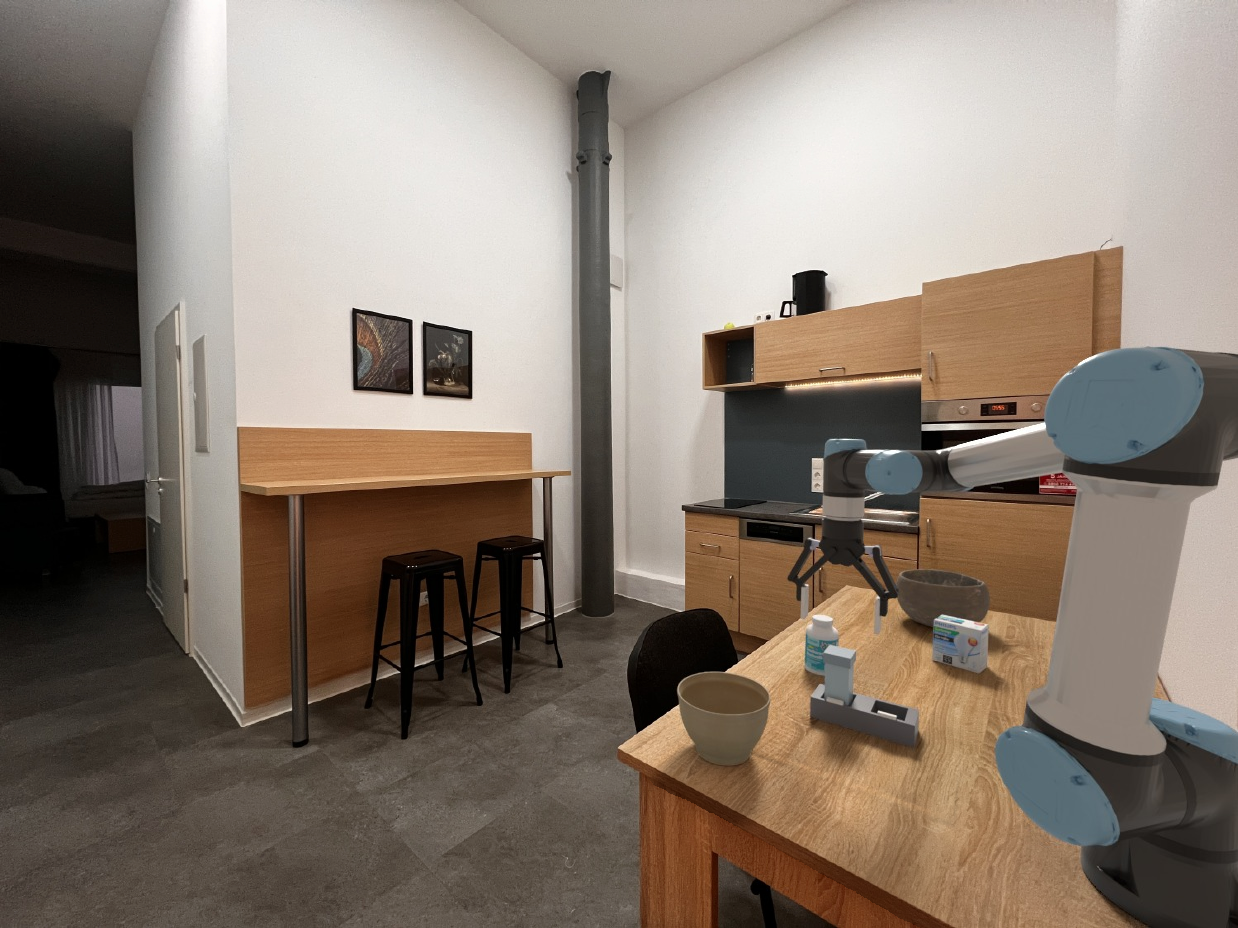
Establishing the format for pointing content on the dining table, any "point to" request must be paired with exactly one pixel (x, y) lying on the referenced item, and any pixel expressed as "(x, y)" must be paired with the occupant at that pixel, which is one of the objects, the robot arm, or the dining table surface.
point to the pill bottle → (819, 642)
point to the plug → (839, 673)
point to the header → (868, 716)
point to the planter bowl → (723, 715)
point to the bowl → (941, 595)
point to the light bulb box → (960, 643)
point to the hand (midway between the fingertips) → (839, 624)
